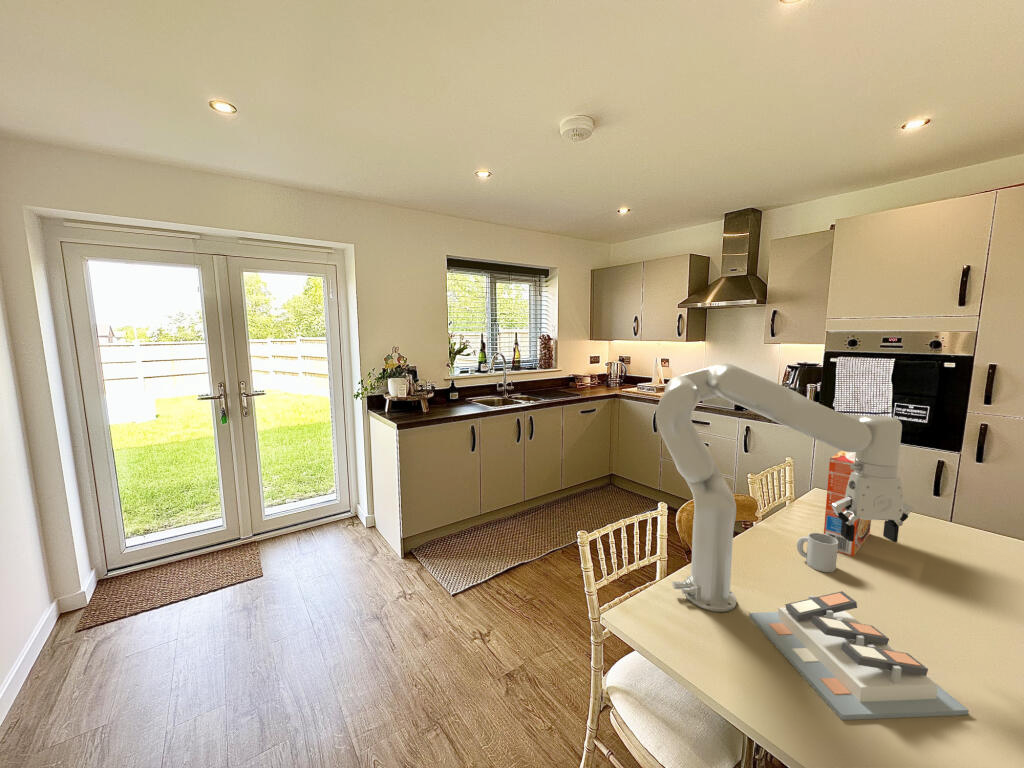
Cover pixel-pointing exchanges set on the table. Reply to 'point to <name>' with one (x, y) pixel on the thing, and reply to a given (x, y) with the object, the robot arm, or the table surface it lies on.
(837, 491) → the orange cereal box
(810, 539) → the cup
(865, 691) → the switch unit
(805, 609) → the rocker
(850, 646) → the rocker
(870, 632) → the rocker
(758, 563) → the table surface
